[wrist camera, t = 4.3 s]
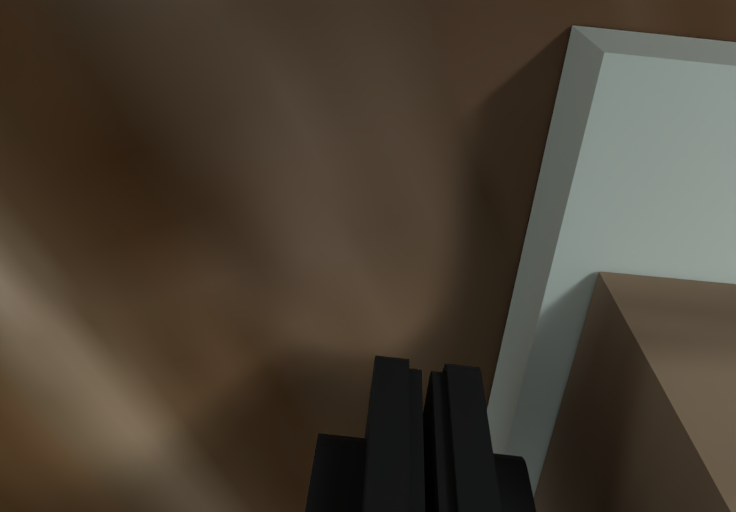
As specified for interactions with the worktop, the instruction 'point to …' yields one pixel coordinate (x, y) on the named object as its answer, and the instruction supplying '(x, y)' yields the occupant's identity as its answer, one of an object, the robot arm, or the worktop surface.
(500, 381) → the board
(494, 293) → the worktop surface
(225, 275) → the worktop surface
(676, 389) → the block
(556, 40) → the worktop surface
